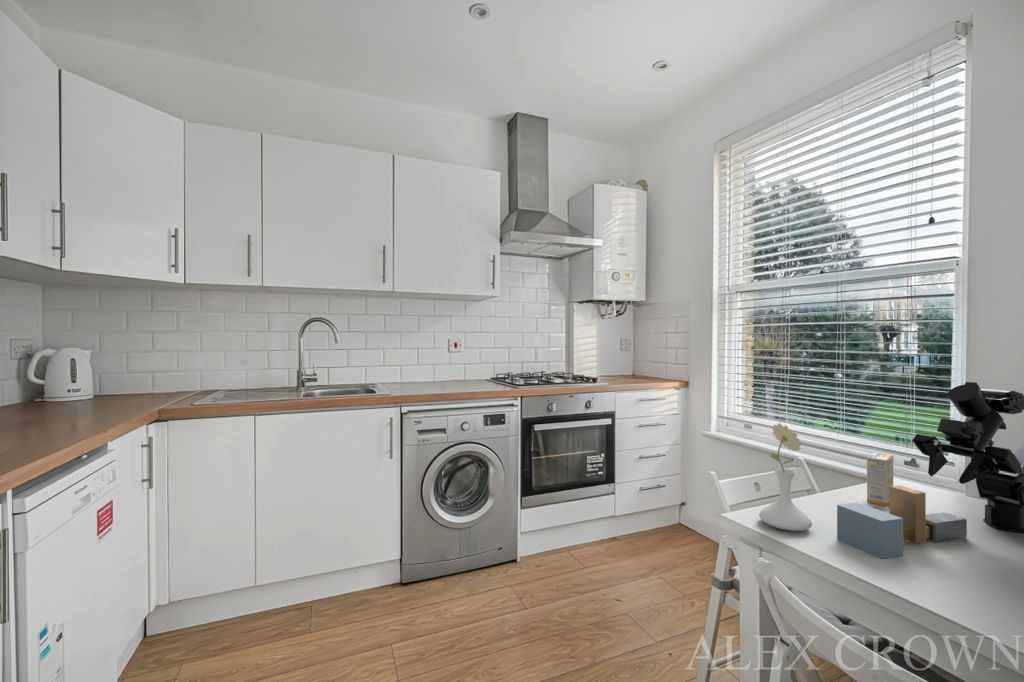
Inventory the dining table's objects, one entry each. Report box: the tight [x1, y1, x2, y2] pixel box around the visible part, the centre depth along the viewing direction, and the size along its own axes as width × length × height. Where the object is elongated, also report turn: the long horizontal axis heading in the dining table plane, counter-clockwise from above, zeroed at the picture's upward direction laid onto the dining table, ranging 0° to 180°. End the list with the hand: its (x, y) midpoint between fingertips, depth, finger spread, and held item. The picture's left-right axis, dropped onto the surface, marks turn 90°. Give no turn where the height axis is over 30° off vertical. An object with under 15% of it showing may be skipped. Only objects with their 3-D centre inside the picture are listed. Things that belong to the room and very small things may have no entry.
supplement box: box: [866, 452, 894, 507], centre depth 132 cm, size 8×5×13 cm, turn 130°
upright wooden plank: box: [889, 484, 933, 544], centre depth 105 cm, size 20×6×11 cm, turn 105°
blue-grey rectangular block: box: [836, 502, 904, 560], centre depth 102 cm, size 6×10×8 cm, turn 15°
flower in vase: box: [758, 423, 813, 532], centre depth 114 cm, size 13×11×25 cm
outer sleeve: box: [925, 511, 968, 544], centre depth 107 cm, size 10×4×5 cm, turn 105°
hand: (944, 478), depth 108 cm, fingers open, 6 cm apart
